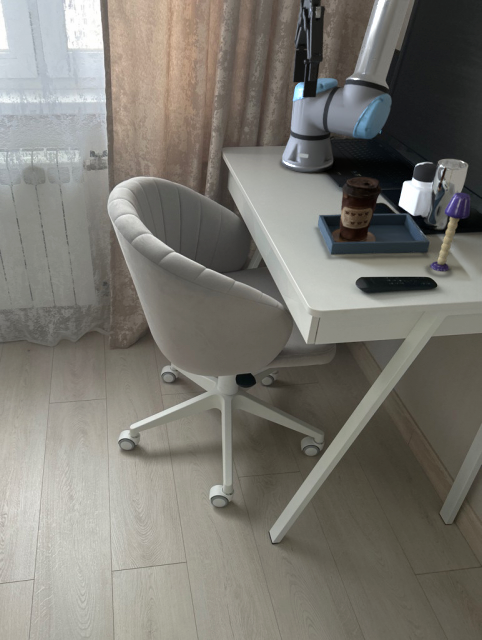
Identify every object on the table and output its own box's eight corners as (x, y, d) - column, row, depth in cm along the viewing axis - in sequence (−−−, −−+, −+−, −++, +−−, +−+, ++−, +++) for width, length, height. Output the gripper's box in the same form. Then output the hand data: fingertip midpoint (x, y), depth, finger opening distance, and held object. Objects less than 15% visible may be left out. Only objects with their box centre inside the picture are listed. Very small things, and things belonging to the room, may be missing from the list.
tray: (317, 228, 137) (319, 214, 135) (405, 226, 138) (408, 213, 135) (330, 258, 126) (332, 243, 123) (426, 256, 126) (430, 241, 124)
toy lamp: (429, 263, 123) (450, 188, 113) (451, 267, 122) (475, 192, 111) (427, 273, 120) (448, 197, 109) (450, 277, 119) (474, 201, 108)
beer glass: (415, 222, 139) (430, 161, 130) (437, 217, 142) (454, 156, 132) (434, 233, 135) (452, 170, 125) (457, 228, 137) (476, 166, 127)
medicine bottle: (437, 215, 142) (450, 168, 135) (412, 219, 141) (424, 171, 133) (421, 204, 148) (433, 158, 140) (397, 208, 146) (407, 161, 138)
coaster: (327, 229, 135) (327, 228, 134) (368, 228, 135) (369, 227, 135) (336, 248, 127) (336, 247, 127) (380, 247, 127) (380, 246, 127)
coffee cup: (372, 247, 127) (383, 190, 118) (334, 244, 128) (343, 187, 120) (371, 230, 133) (382, 175, 125) (335, 227, 135) (343, 173, 126)
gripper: (287, -32, 123) (279, 76, 136) (307, -21, 104) (295, 104, 117) (321, -32, 123) (310, 76, 136) (348, -21, 104) (331, 103, 117)
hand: (303, 89), depth 127 cm, fingers open, 13 cm apart
